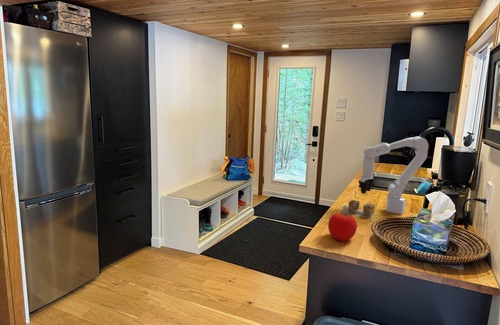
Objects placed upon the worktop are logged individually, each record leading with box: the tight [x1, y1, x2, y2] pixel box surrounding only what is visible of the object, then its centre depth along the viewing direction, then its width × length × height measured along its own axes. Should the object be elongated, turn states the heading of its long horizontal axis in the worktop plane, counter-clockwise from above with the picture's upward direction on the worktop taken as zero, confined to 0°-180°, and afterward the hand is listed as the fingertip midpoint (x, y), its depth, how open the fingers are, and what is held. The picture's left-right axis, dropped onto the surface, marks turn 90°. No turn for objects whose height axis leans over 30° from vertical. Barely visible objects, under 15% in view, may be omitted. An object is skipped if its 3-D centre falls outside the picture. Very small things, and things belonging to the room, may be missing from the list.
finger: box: [362, 202, 375, 219], centre depth 177 cm, size 4×5×6 cm
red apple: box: [327, 212, 358, 242], centre depth 147 cm, size 12×14×11 cm
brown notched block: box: [347, 199, 360, 215], centre depth 181 cm, size 4×5×6 cm
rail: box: [340, 204, 376, 220], centre depth 180 cm, size 16×7×3 cm, turn 52°
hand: (365, 192), depth 189 cm, fingers open, 7 cm apart
